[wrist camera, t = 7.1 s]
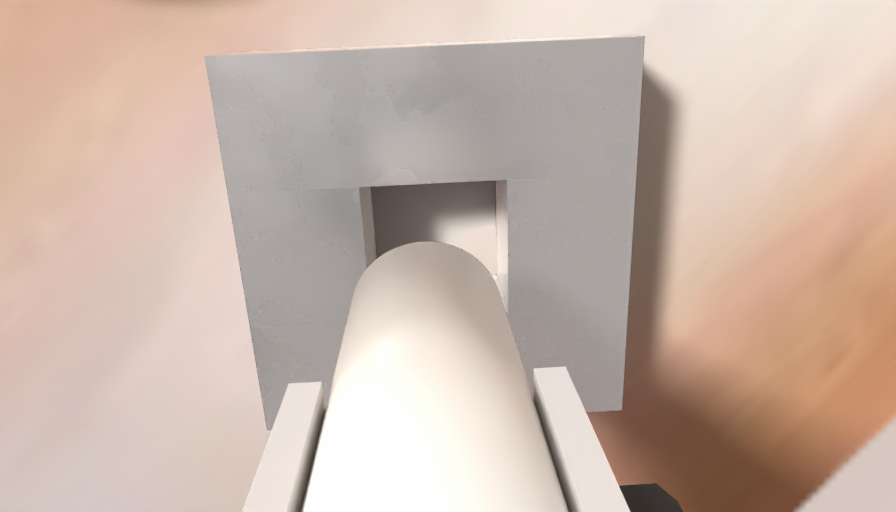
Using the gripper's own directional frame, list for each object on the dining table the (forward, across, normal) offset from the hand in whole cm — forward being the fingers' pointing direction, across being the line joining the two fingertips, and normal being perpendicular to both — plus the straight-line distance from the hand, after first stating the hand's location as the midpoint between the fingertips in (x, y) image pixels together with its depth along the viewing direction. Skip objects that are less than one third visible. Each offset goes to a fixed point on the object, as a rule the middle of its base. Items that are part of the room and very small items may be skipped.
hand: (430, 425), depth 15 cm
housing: (+16, +1, 0) cm, 16 cm away
